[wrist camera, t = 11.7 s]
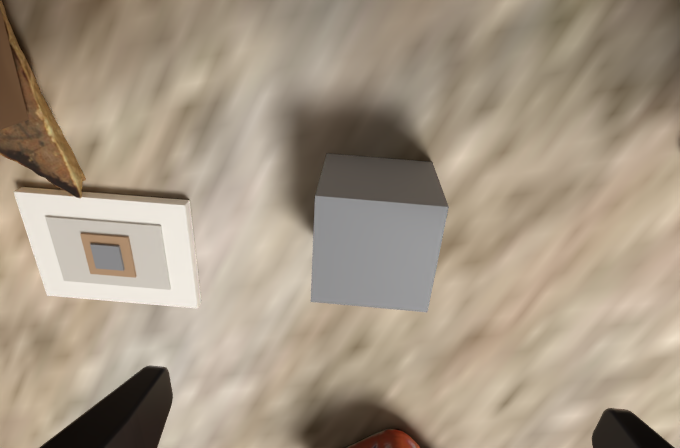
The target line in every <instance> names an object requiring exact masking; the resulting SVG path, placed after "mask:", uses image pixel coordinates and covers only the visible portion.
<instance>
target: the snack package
mask: <svg viewBox="0 0 680 448" xmlns="http://www.w3.org/2000/svg"><path fill="white" fill-rule="evenodd" d="M346 448H420V447H419V445H418V444H417V443H416V442H415V441H414V440H413V439H412V438H411V437H410V436H409V435H407V434H406V433H404V432H403V431H399V430H395V429H386V430H383V431H381V432H378V433H375V434H373V435H371V436H369V437H367V438H365V439H363V440H361V441H359V442H357V443H355V444H353V445H350V446H348V447H346Z"/></svg>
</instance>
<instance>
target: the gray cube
mask: <svg viewBox="0 0 680 448" xmlns="http://www.w3.org/2000/svg"><path fill="white" fill-rule="evenodd" d="M448 208H449V207H448V204H447V201H446V198H445V196H444V193H443V190H442V188H441V185H440V182H439V179H438V177H437V174H436V171H435V168H434V166H433V163H432V162H426V161H414V160H402V159H389V158H377V157H365V156H353V155H340V154H328V153H327V154H326V158H325V161H324V165H323V169H322V172H321V176H320V180H319V183H318V187H317V190H316V194H315V209H314V234H313V259H312V284H311V302H319V303H330V304H341V305H353V306H364V307H375V308H386V309H397V310H408V311H419V312H427V311H428V306H429V302H430V297H431V292H432V287H433V282H434V277H435V272H436V267H437V262H438V257H439V252H440V247H441V242H442V237H443V232H444V227H445V222H446V217H447V213H448Z"/></svg>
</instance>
